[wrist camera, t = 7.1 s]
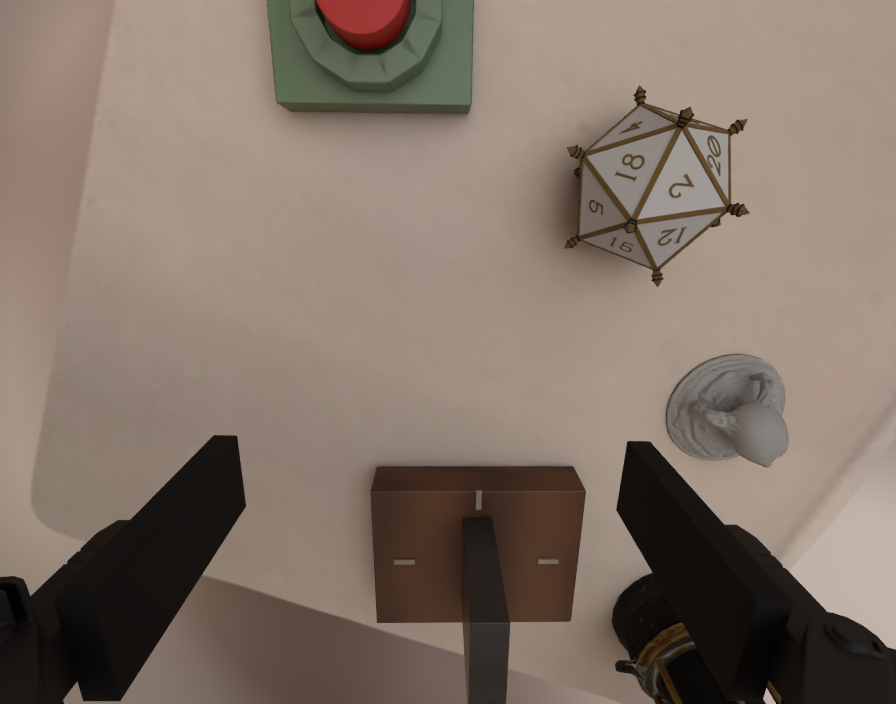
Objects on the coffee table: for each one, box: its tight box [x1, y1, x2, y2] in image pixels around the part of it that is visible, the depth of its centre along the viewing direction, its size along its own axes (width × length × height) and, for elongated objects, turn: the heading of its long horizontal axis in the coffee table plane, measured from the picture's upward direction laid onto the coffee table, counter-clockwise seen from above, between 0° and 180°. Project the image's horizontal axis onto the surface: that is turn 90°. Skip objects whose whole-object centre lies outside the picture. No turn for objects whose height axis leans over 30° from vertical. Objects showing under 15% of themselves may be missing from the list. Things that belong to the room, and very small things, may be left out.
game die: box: [564, 85, 750, 287], centre depth 23 cm, size 9×8×10 cm
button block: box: [267, 0, 474, 114], centre depth 22 cm, size 10×8×4 cm
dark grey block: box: [462, 518, 510, 704], centre depth 27 cm, size 7×2×8 cm, turn 0°
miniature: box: [666, 354, 789, 467], centre depth 29 cm, size 8×8×5 cm
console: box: [371, 467, 586, 623], centre depth 33 cm, size 14×11×3 cm
